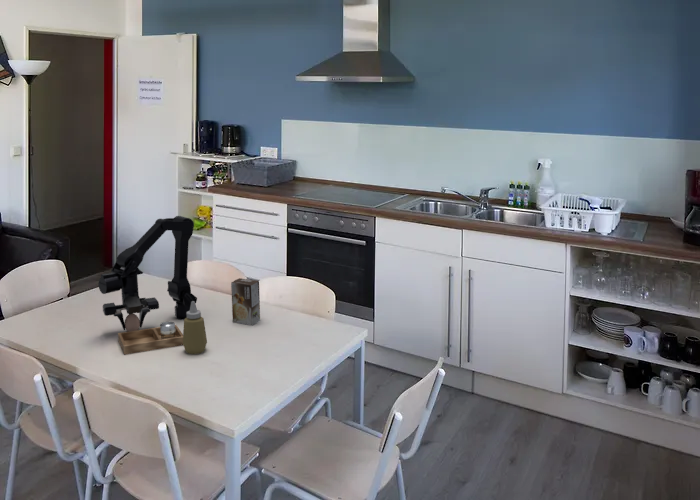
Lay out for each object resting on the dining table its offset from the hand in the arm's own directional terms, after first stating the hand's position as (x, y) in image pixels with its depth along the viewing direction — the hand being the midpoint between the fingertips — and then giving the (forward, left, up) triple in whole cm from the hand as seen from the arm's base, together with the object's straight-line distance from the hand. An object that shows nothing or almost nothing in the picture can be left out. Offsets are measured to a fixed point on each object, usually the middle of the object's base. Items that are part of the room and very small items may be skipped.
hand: (132, 328), depth 237 cm
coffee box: (-41, +6, -2) cm, 41 cm away
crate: (-4, +14, -2) cm, 15 cm away
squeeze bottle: (-16, +27, -2) cm, 31 cm away
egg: (0, 0, -2) cm, 2 cm away
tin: (-10, +14, -1) cm, 17 cm away
